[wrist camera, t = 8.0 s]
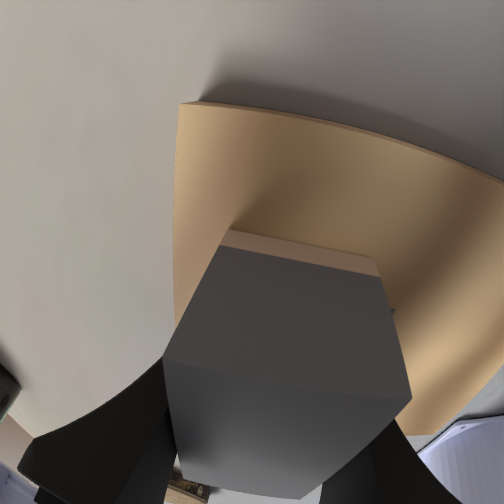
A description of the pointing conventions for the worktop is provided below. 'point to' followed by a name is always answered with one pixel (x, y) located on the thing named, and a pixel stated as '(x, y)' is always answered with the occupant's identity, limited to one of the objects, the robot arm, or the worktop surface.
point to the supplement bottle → (7, 391)
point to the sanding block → (282, 366)
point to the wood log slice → (185, 491)
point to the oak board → (356, 231)
